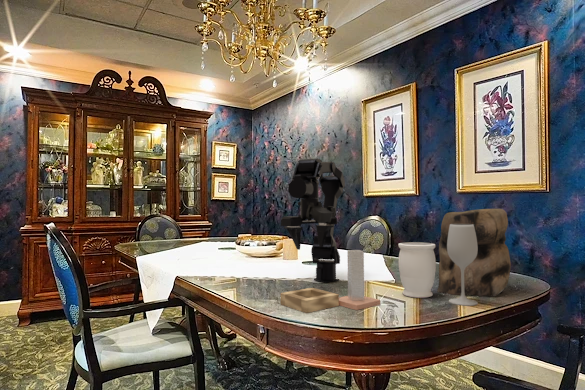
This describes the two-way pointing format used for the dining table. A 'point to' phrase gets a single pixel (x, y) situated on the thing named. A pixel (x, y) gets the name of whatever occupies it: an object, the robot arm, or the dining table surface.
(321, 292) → the brown square tray
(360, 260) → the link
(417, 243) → the jar
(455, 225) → the wineglass
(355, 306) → the coaster
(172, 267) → the dining table surface
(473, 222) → the brown mottled lumpy block
